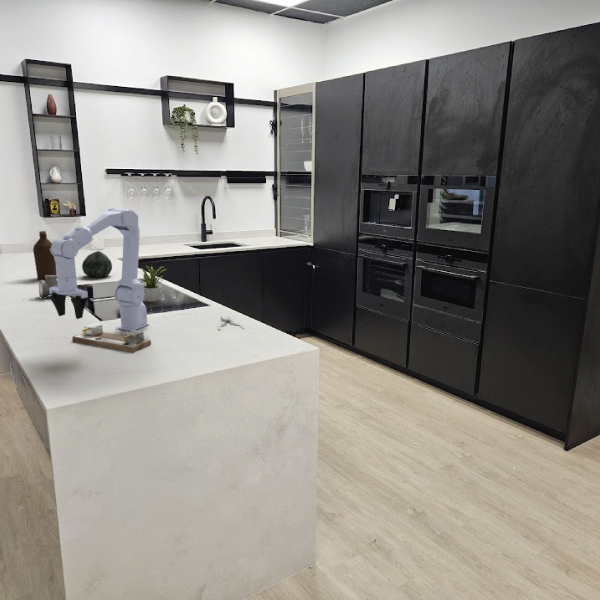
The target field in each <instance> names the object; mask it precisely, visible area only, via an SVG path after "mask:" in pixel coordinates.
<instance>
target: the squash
mask: <svg viewBox="0 0 600 600" xmlns="http://www.w3.org/2000/svg"><path fill="white" fill-rule="evenodd" d="M112 263H113V262H112V261H111V259H110V258H109V257H108V256H107V255H106V254H105V253H103V252H102V251H100V250H99V251H98V250H96V251H94V252H92V253H90V254H88V255H87V256H86V257H85V259H83V261H82V264H81V269H82V272H83V274H85V275H86V276H87V277H97V278H106V276H109V275H110V273H111V272H112V269H113V264H112Z"/></svg>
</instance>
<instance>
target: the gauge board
mask: <svg viewBox="0 0 600 600" xmlns="http://www.w3.org/2000/svg"><path fill="white" fill-rule="evenodd" d="M72 342H77V343H82V344H87V345H92V346H97V347H103V348H107V349H113V350H119V351H125V352H131V353H134V352H137V351H139V350H141V349H143V348H146V347H148V346H150V345H151V344H152V340H151V339H147V338H145V335H144V331H141V330H138V329H137V330H133V331H128V332H126V333H124V335H123V334H119V333H118V334H117V333H111V332H106V331H103V333H101V334H98V335H95V336H89V335H86V336H84V332H82V333H80V334H79V333H78V334H77V335H74V336H72Z"/></svg>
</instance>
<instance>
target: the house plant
mask: <svg viewBox="0 0 600 600" xmlns="http://www.w3.org/2000/svg"><path fill="white" fill-rule="evenodd" d="M146 267H147V269H148V272H149V274H148V272H147V271H146V270H145V269H144V268H142V267H140V269H141V270H142V273H141V275H142V277H143V278H141V277H137V279H138V280H139V281H140V282H141V284H145V285H143V292H144V299H145V301H146V302H149V303H151V302H152V303H154V302H157V301H158V300H159V293H160V285H157V283H160V284H162V282H163V281H164V279H161V278H162V277H163V275H161V276H160V274H161V273H163V272H164V271H167V270H168V269H166V268H165V269H162V268H164V267H165V266H160V267H159V268H158V269H157V268H156V269H154V268H153V266H152V265H151V266H150V267H149V265H148V266H146ZM161 269H162V270H161ZM160 270H161V271H160Z"/></svg>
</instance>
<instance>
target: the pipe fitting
mask: <svg viewBox="0 0 600 600" xmlns="http://www.w3.org/2000/svg"><path fill="white" fill-rule="evenodd" d="M45 278H46V280H40V281H39V284H38V293H39V298H41V299H46V298H48V297H49V296H52V294H50V292H49V288H51V287H58V281H57V276H55V275H45Z"/></svg>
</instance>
